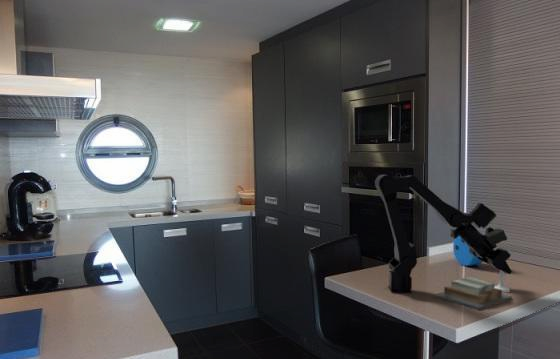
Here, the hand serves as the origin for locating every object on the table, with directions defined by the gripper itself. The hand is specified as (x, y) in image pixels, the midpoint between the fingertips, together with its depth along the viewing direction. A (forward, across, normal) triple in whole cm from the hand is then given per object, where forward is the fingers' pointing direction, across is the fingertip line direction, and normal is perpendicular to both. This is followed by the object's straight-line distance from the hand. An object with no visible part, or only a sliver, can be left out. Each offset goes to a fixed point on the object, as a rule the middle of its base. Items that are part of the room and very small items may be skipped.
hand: (506, 270), depth 145 cm
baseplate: (-6, -8, +15) cm, 18 cm away
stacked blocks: (-6, -8, +15) cm, 18 cm away
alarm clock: (+6, +34, +4) cm, 35 cm away
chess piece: (+4, 0, +6) cm, 7 cm away
